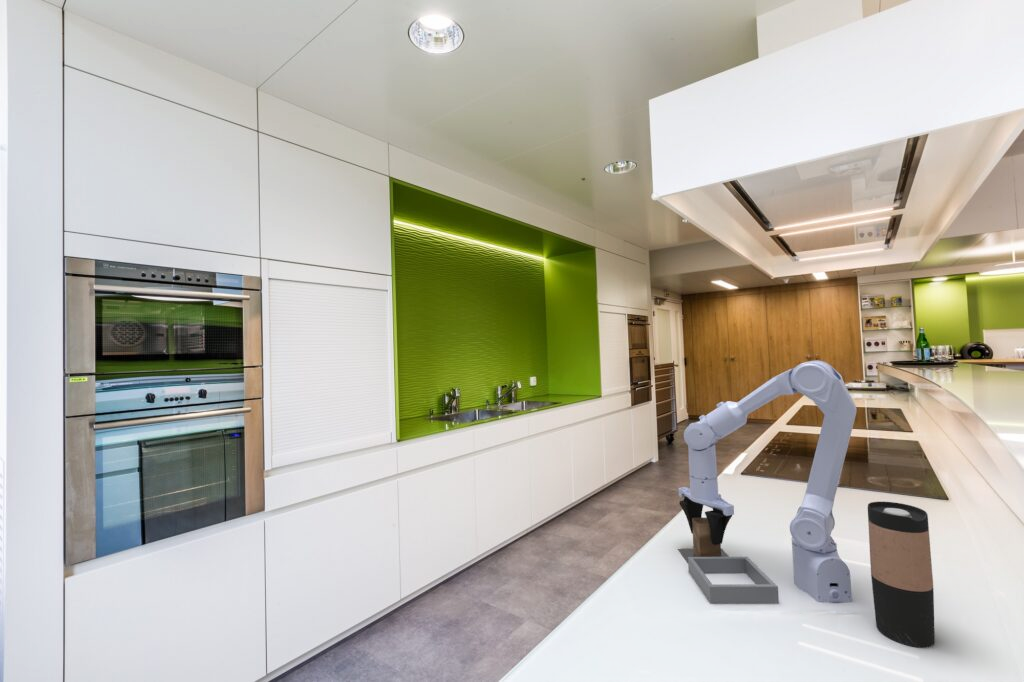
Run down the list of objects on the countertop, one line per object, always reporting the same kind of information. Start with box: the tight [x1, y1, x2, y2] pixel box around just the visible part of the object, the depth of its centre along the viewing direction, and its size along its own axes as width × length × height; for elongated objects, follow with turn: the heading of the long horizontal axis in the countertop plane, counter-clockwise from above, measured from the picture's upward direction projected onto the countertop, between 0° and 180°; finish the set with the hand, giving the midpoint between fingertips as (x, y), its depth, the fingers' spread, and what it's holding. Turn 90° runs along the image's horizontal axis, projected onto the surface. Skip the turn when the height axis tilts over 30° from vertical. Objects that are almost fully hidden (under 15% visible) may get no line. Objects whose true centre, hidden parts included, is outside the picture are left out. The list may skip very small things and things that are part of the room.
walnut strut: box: [692, 517, 722, 557], centre depth 99 cm, size 4×4×8 cm
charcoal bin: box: [687, 556, 780, 605], centre depth 87 cm, size 12×12×4 cm
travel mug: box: [867, 501, 936, 649], centre depth 73 cm, size 8×8×20 cm
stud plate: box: [677, 547, 730, 564], centre depth 99 cm, size 10×10×5 cm
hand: (706, 538), depth 99 cm, fingers closed on walnut strut, 6 cm apart
